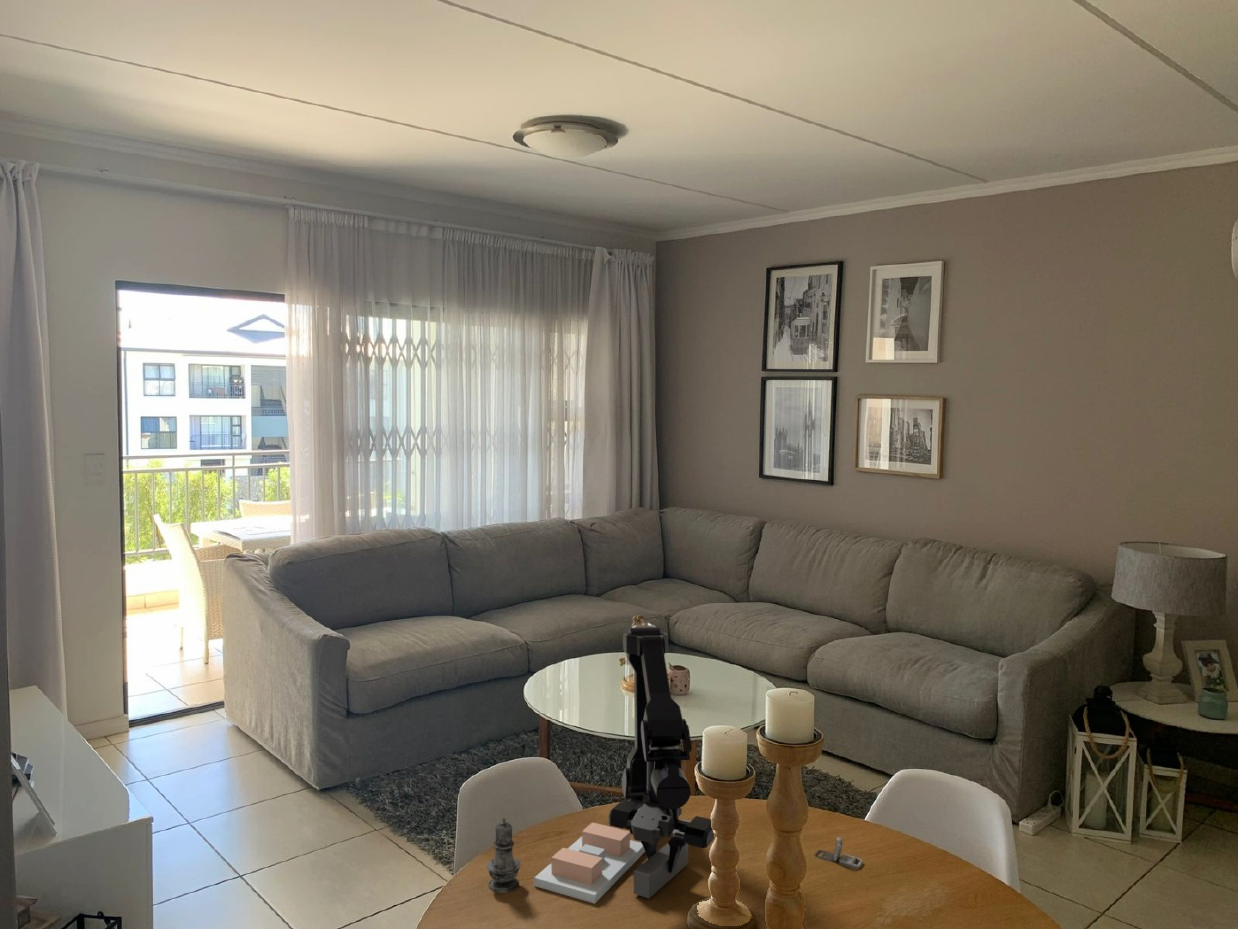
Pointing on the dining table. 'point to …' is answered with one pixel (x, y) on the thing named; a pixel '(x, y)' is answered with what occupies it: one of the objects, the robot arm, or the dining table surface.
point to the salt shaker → (503, 861)
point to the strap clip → (843, 860)
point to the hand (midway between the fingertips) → (661, 869)
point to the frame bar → (657, 871)
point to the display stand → (590, 863)
